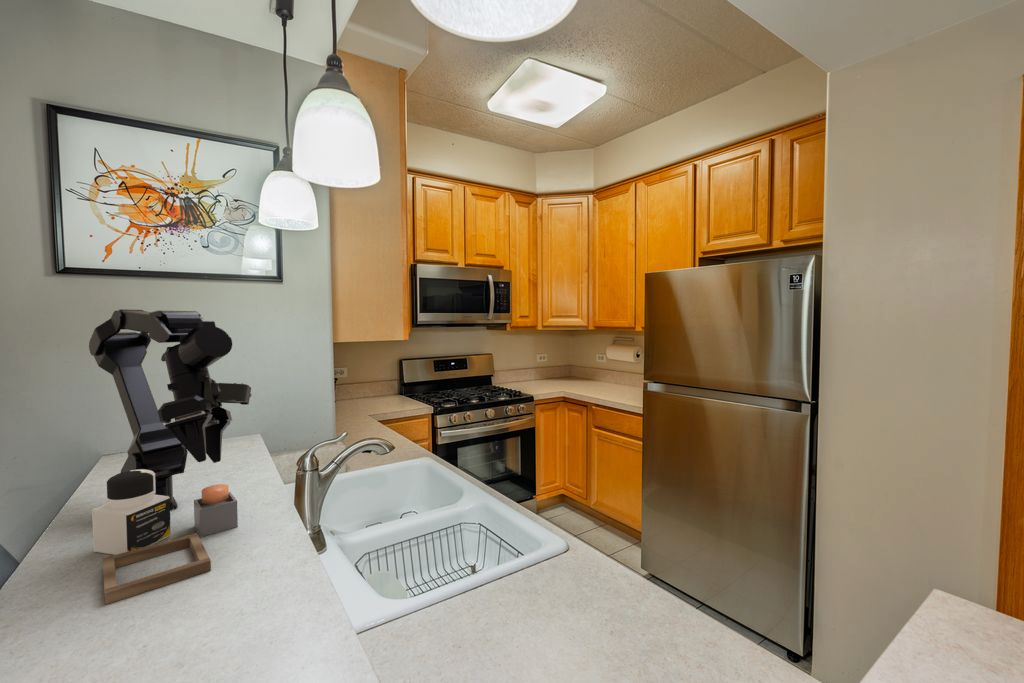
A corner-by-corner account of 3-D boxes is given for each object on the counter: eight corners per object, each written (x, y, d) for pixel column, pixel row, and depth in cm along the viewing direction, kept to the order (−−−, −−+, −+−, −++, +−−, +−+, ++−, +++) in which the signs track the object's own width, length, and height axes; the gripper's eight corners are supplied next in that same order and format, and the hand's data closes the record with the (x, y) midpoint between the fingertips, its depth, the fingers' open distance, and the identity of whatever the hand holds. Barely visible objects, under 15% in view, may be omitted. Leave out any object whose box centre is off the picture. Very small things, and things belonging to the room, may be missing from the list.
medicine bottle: (128, 557, 69) (125, 482, 68) (92, 552, 70) (89, 479, 69) (171, 536, 76) (170, 467, 75) (138, 531, 77) (136, 464, 76)
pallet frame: (103, 568, 66) (102, 558, 66) (197, 541, 74) (197, 532, 74) (105, 604, 57) (104, 593, 57) (210, 570, 65) (210, 560, 65)
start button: (200, 499, 79) (199, 488, 79) (226, 493, 82) (225, 482, 82) (204, 505, 76) (203, 494, 76) (230, 499, 79) (230, 488, 79)
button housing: (194, 526, 79) (193, 500, 79) (230, 516, 83) (230, 491, 83) (200, 537, 75) (199, 509, 75) (237, 526, 79) (237, 500, 79)
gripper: (228, 352, 73) (251, 443, 70) (250, 374, 90) (270, 447, 87) (147, 371, 68) (169, 468, 66) (186, 390, 85) (205, 468, 83)
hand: (210, 461), depth 76 cm, fingers open, 9 cm apart
